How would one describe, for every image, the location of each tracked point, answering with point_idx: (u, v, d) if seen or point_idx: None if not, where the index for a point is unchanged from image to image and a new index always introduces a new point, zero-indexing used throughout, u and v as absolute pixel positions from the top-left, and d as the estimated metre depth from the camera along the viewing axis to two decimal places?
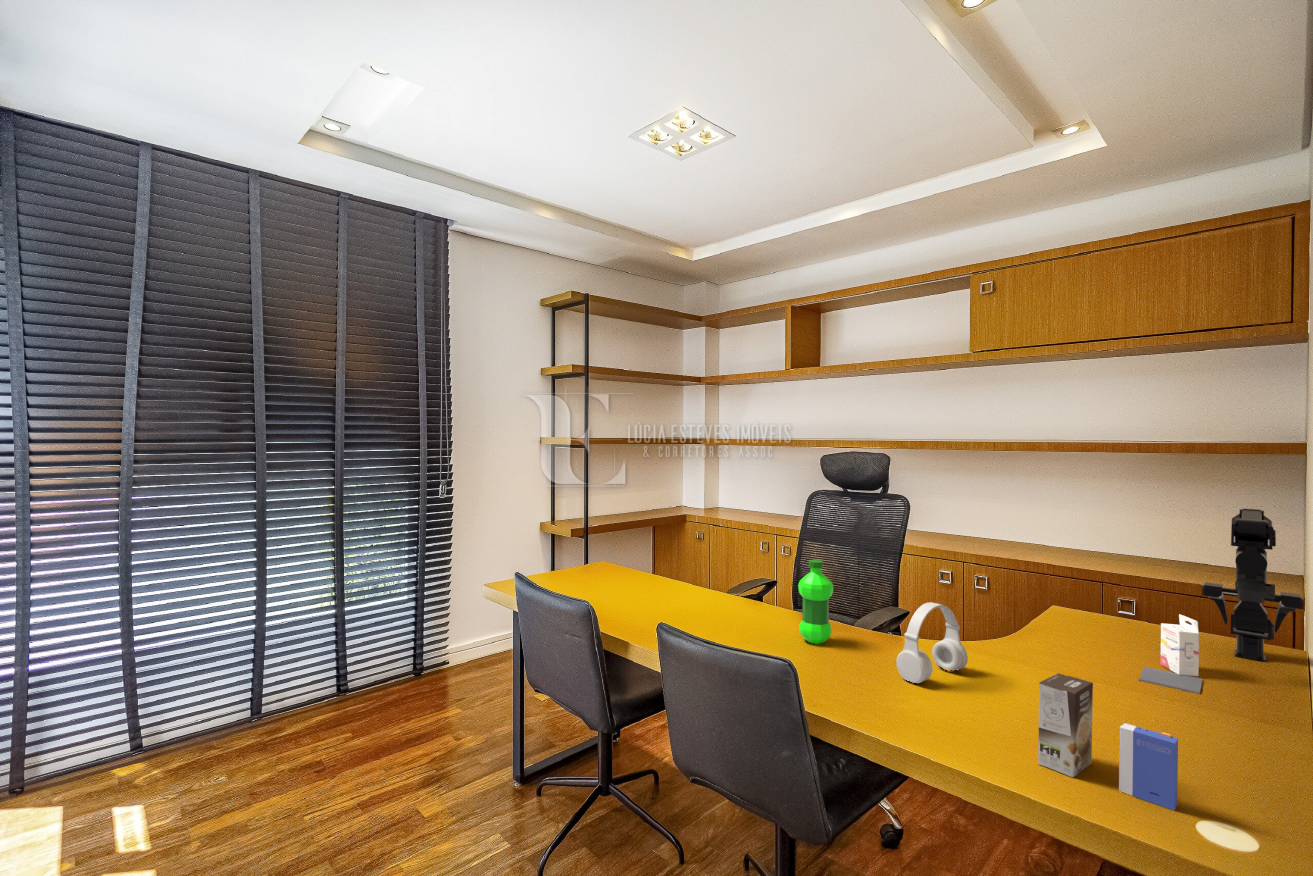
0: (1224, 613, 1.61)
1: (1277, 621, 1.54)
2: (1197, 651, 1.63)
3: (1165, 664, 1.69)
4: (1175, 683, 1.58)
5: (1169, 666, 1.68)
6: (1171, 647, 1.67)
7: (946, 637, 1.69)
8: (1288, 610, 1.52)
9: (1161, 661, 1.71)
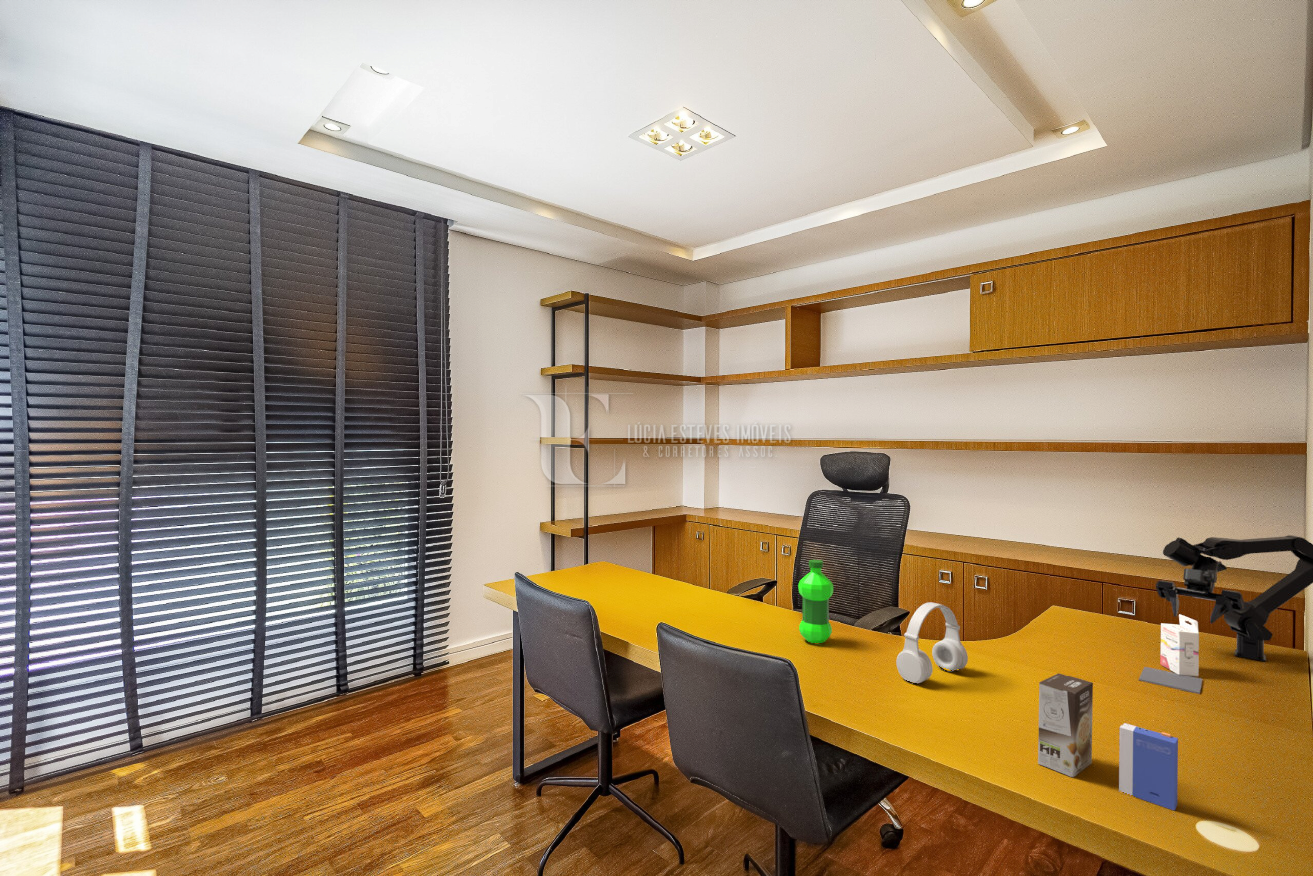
0: (1174, 604, 1.78)
1: (1213, 611, 1.71)
2: (1197, 651, 1.63)
3: (1165, 664, 1.69)
4: (1175, 683, 1.58)
5: (1169, 666, 1.68)
6: (1171, 647, 1.67)
7: (946, 637, 1.69)
8: (1223, 599, 1.70)
9: (1161, 661, 1.71)
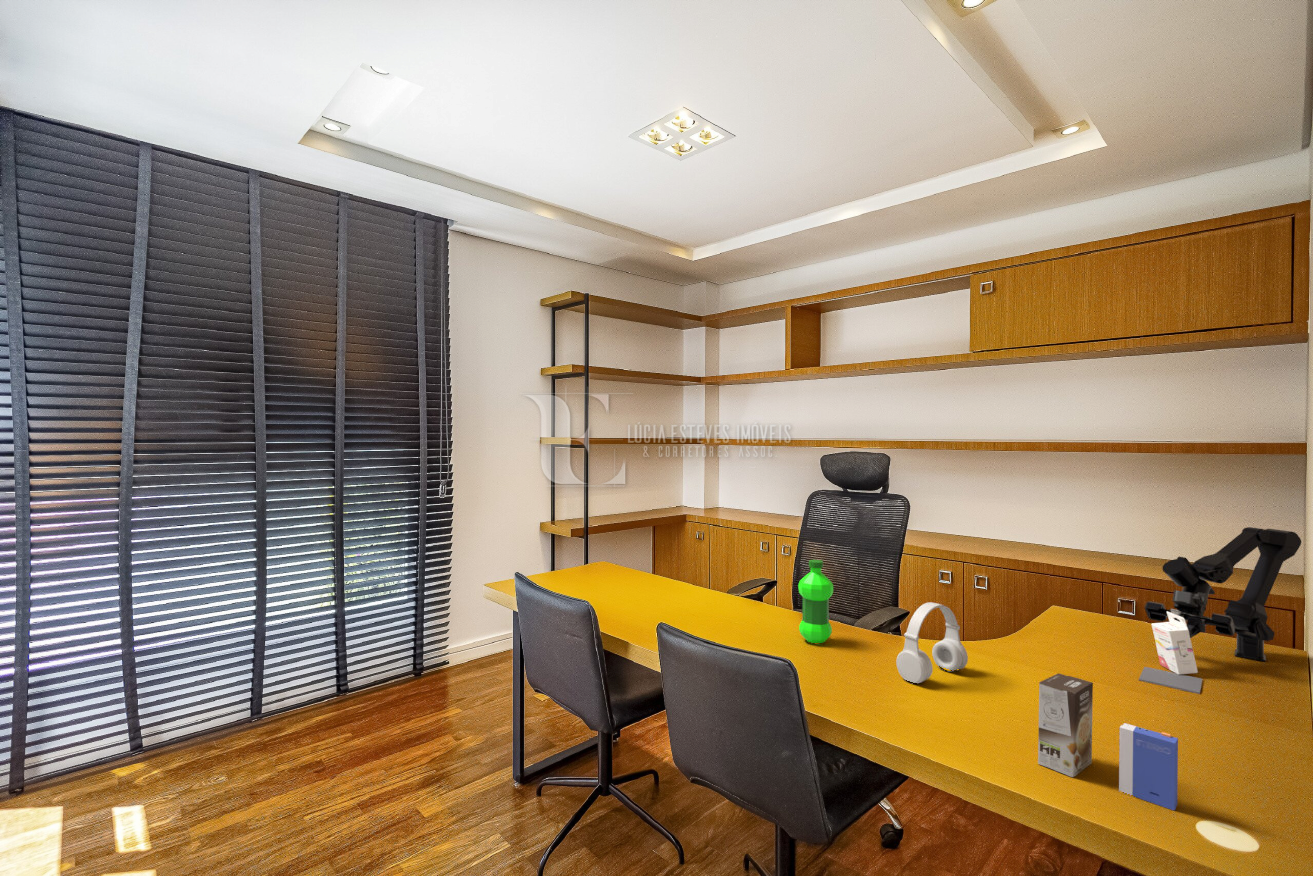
0: None
1: None
2: (1191, 648, 1.63)
3: (1164, 664, 1.69)
4: (1175, 683, 1.58)
5: (1168, 666, 1.68)
6: (1166, 647, 1.67)
7: (946, 637, 1.69)
8: (1195, 619, 1.68)
9: (1160, 661, 1.71)
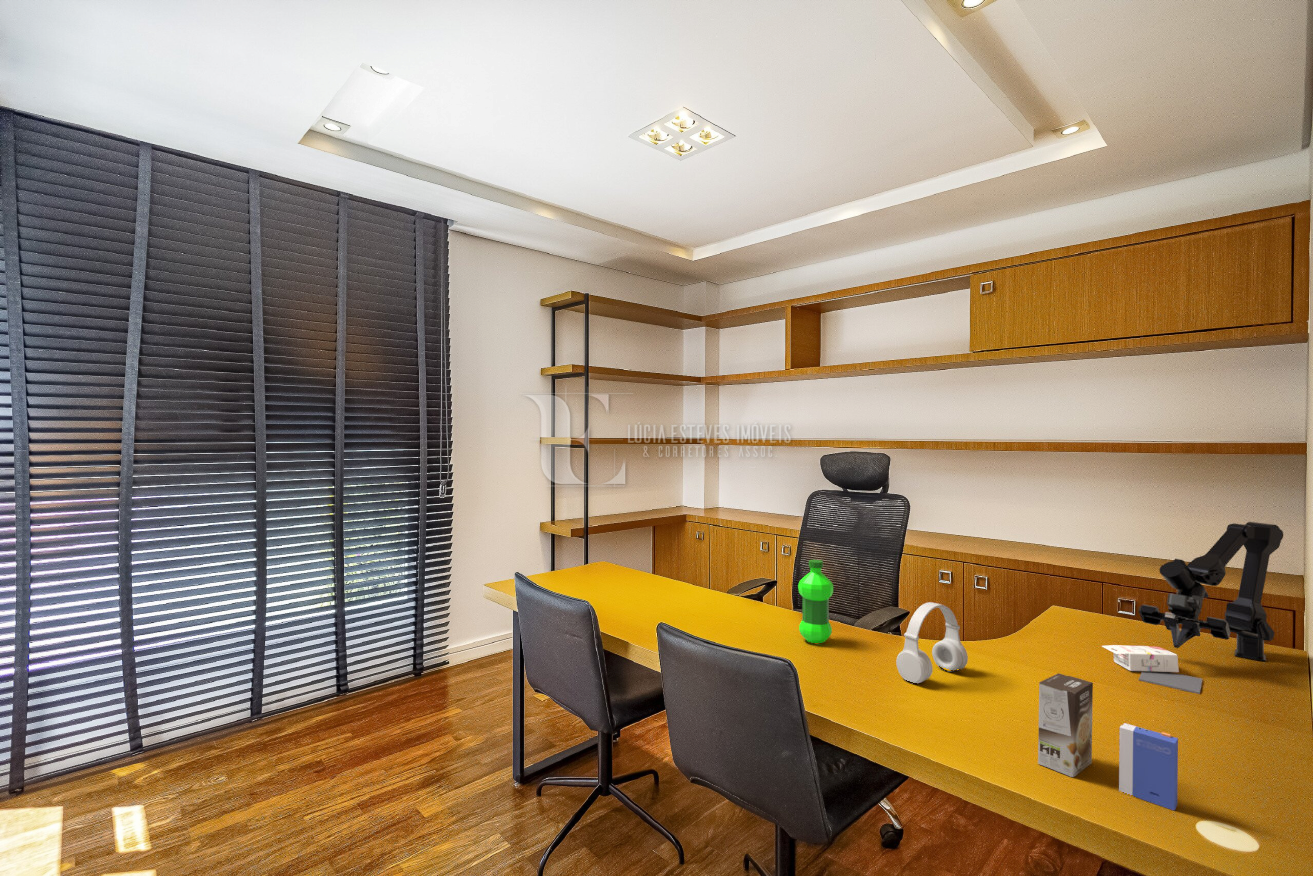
0: (1174, 634, 1.67)
1: (1179, 635, 1.66)
2: (1149, 655, 1.65)
3: None
4: (1175, 683, 1.58)
5: None
6: None
7: (946, 637, 1.69)
8: (1190, 623, 1.65)
9: None
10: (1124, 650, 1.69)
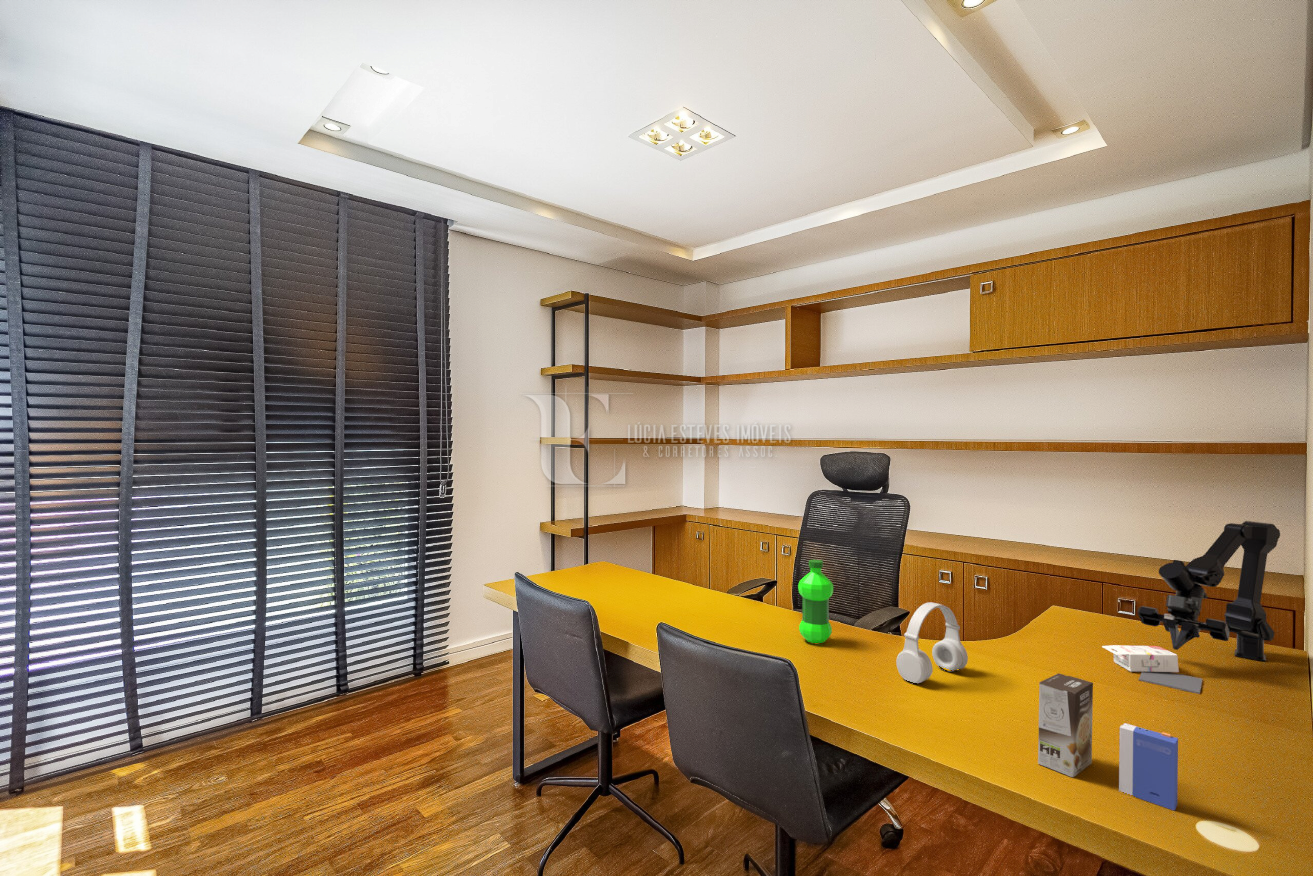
0: (1174, 636, 1.66)
1: (1178, 637, 1.65)
2: (1149, 656, 1.65)
3: None
4: (1175, 683, 1.58)
5: None
6: None
7: (946, 637, 1.69)
8: (1189, 624, 1.65)
9: None
10: (1124, 650, 1.69)
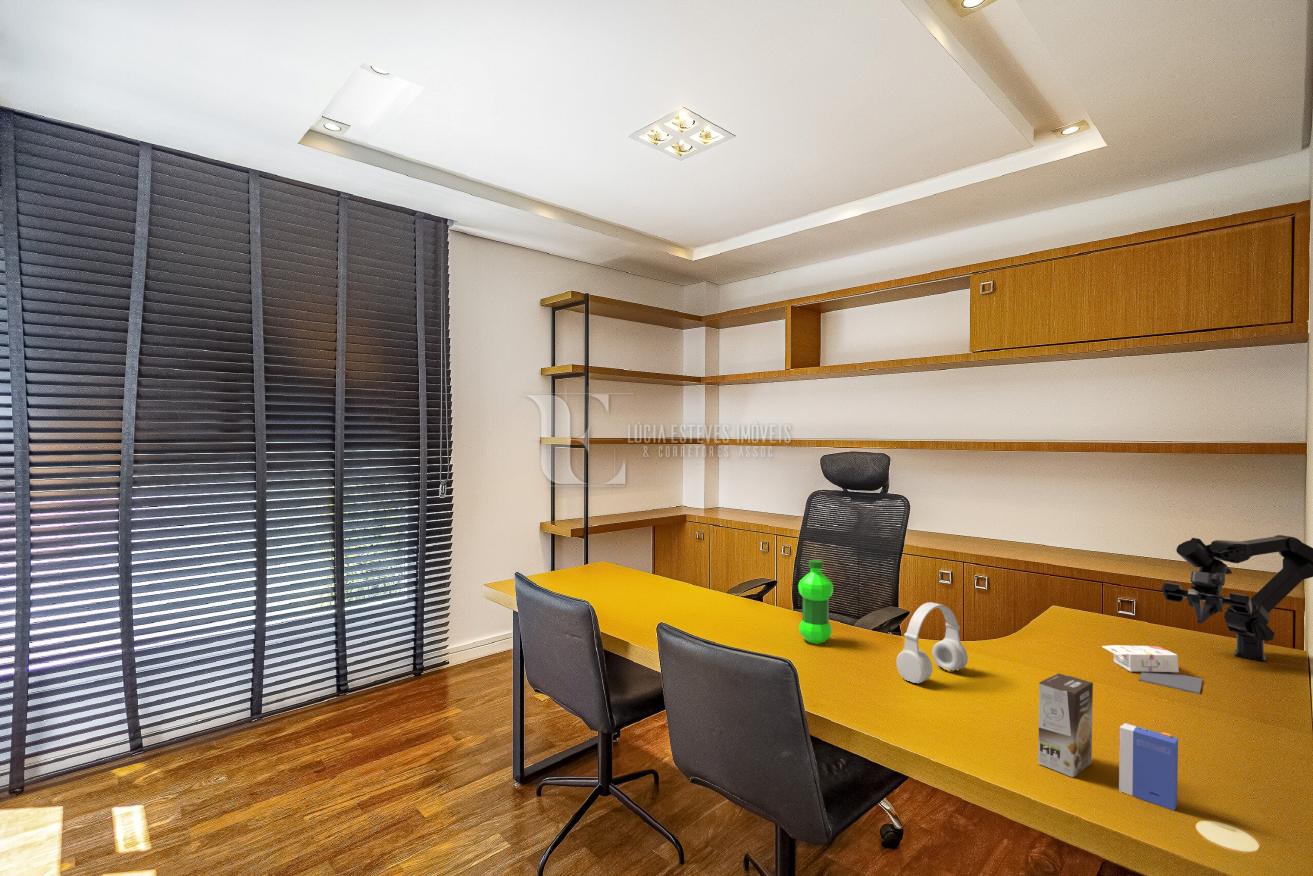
0: (1198, 610, 1.72)
1: (1203, 611, 1.71)
2: (1149, 656, 1.65)
3: None
4: (1175, 683, 1.58)
5: None
6: None
7: (946, 637, 1.69)
8: (1213, 599, 1.70)
9: None
10: (1124, 650, 1.69)
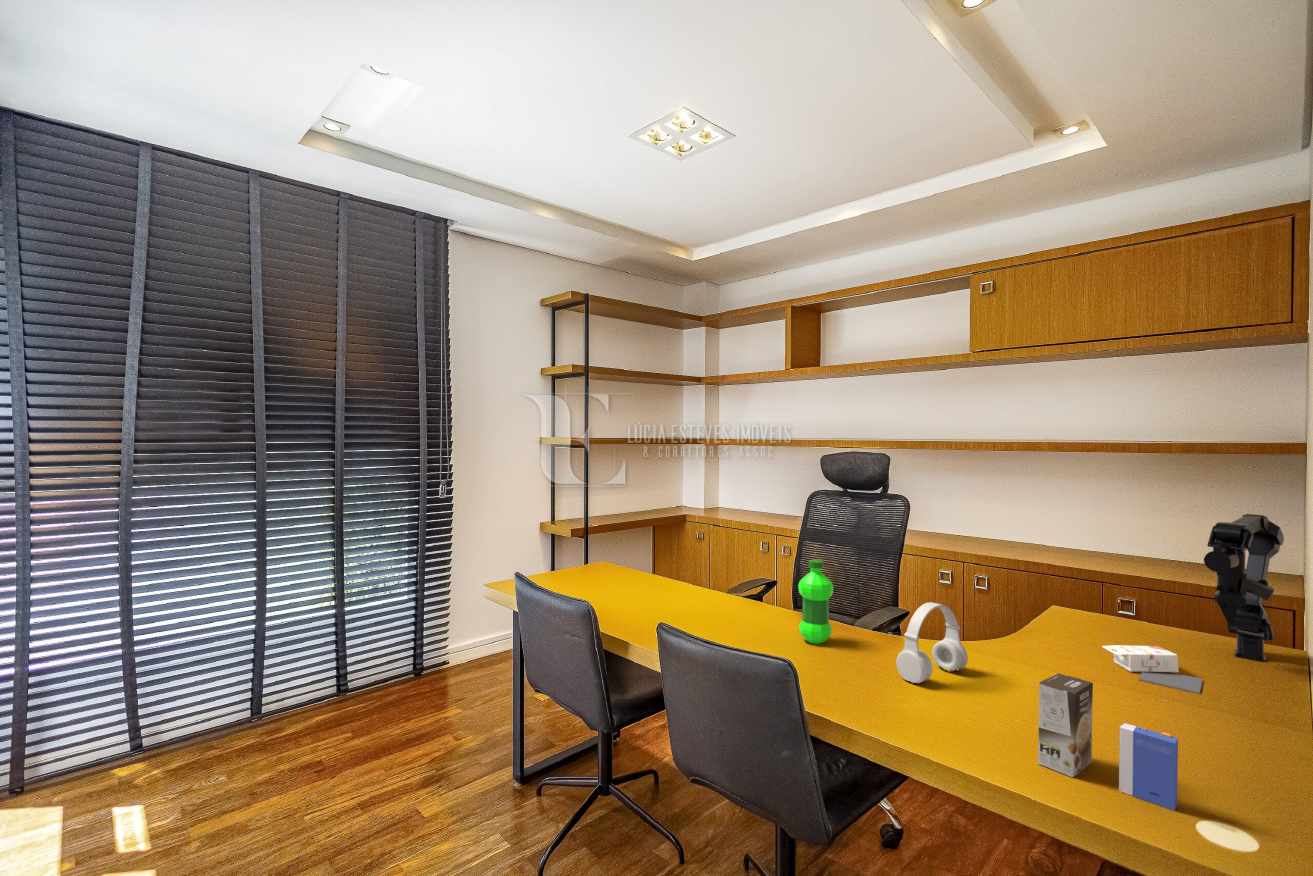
0: (1235, 614, 1.70)
1: None
2: (1149, 656, 1.65)
3: None
4: (1175, 683, 1.58)
5: None
6: None
7: (946, 637, 1.69)
8: None
9: None
10: (1124, 650, 1.69)
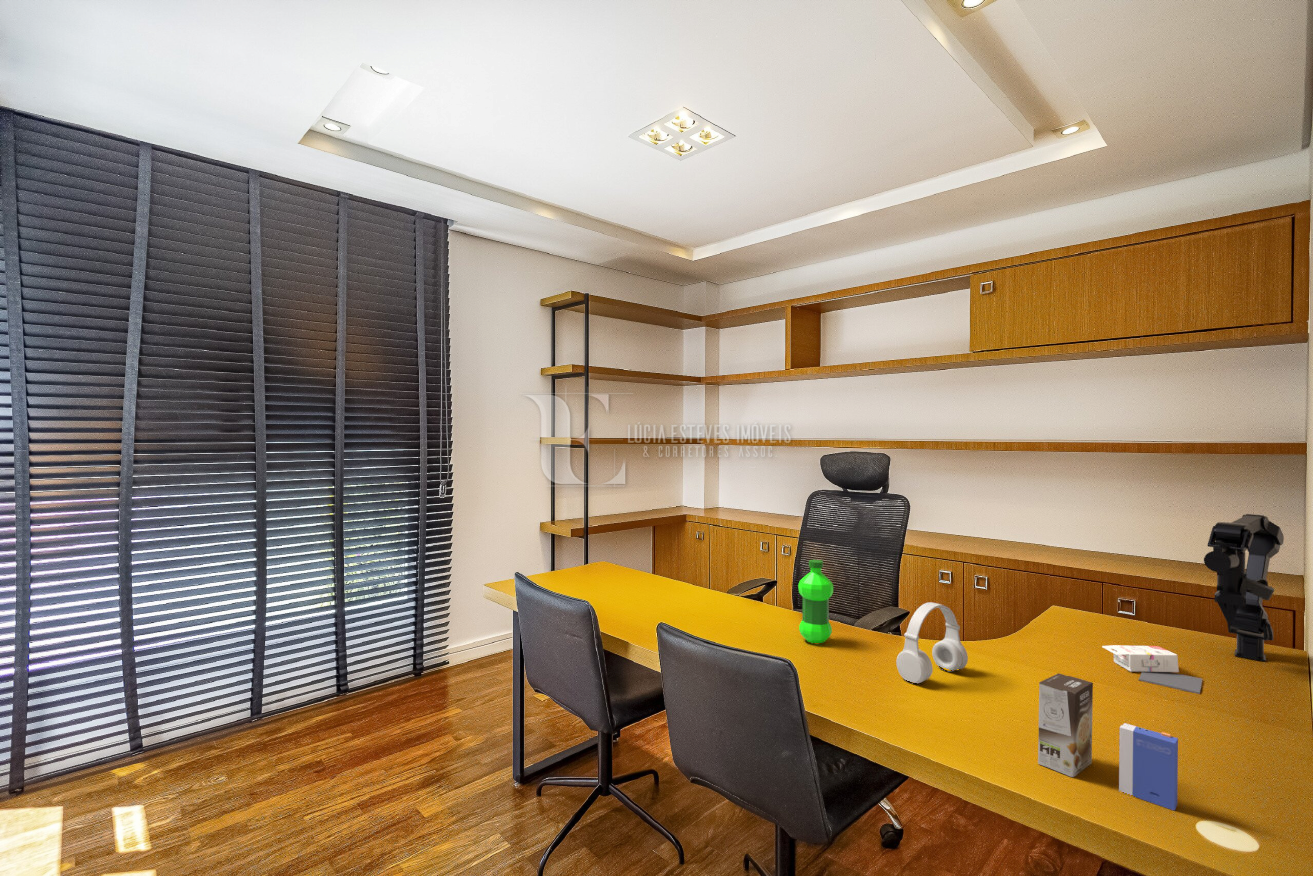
0: (1236, 614, 1.70)
1: None
2: (1149, 656, 1.65)
3: None
4: (1175, 683, 1.58)
5: None
6: None
7: (946, 637, 1.69)
8: None
9: None
10: (1124, 650, 1.69)
